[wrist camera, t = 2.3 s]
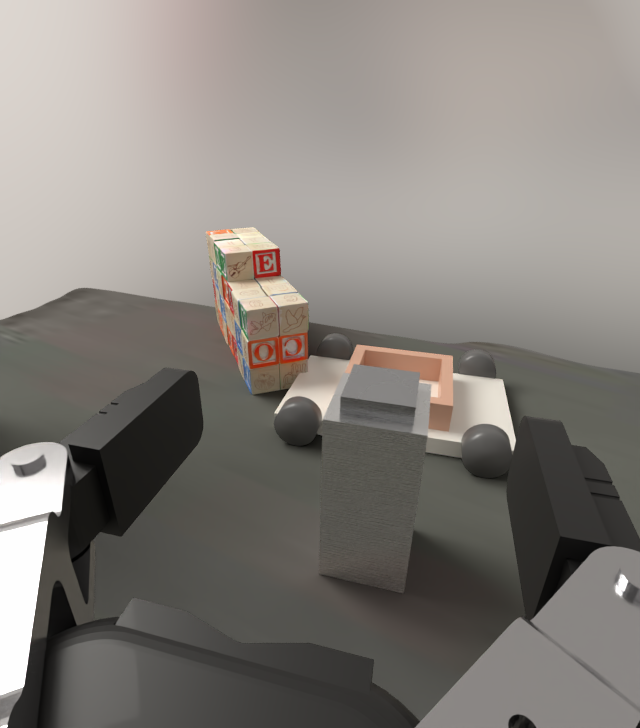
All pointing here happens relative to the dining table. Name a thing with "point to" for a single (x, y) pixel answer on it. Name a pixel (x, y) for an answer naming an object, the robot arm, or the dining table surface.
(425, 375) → the chassis
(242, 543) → the dining table surface
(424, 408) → the grey tall block
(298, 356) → the stack of blocks
